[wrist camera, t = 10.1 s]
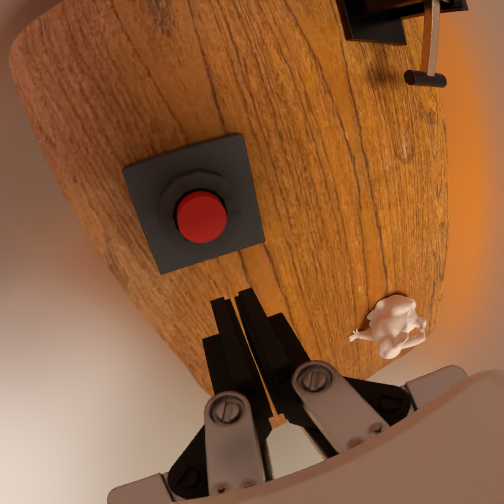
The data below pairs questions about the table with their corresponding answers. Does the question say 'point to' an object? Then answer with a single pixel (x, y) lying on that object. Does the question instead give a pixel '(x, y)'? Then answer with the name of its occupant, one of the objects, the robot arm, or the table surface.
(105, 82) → the table surface
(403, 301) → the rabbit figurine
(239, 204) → the control block
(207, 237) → the button
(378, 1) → the switch bracket
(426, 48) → the lever
